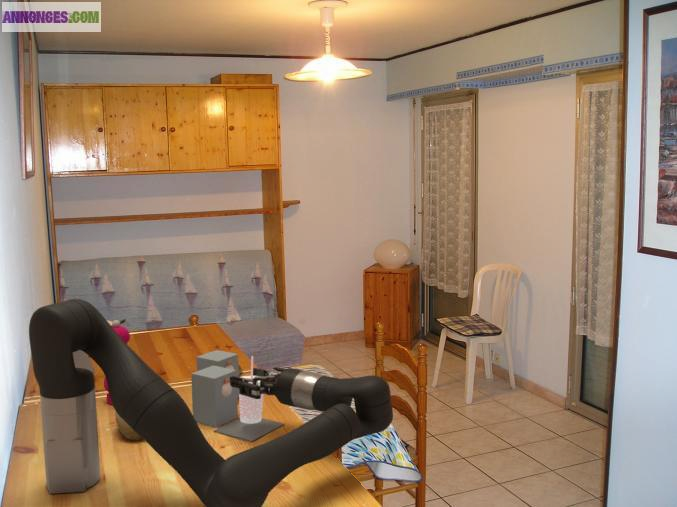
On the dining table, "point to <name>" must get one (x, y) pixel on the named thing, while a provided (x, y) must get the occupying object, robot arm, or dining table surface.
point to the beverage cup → (250, 404)
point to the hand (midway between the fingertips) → (241, 376)
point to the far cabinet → (219, 361)
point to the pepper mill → (126, 337)
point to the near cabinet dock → (223, 405)
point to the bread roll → (126, 429)
